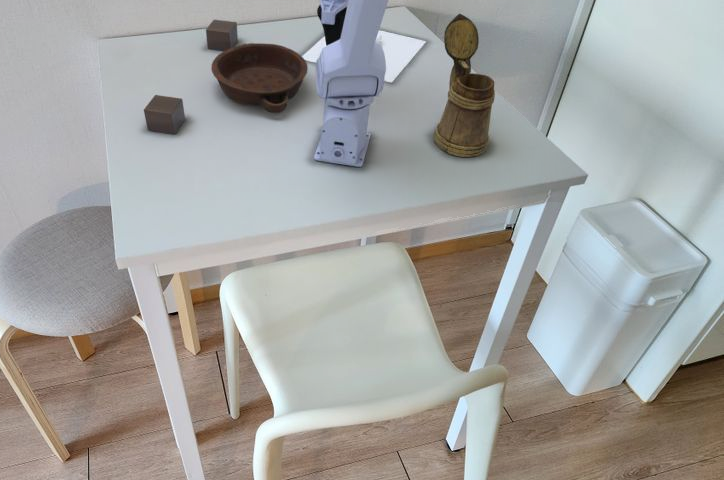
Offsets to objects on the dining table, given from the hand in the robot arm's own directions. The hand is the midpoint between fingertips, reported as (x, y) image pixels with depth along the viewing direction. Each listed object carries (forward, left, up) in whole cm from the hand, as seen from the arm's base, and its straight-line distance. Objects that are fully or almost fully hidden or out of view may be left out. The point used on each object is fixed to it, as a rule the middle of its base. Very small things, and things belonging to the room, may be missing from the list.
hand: (333, 48), depth 102 cm
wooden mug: (-6, -23, -10) cm, 26 cm away
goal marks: (0, +26, -10) cm, 28 cm away
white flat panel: (+21, -3, -10) cm, 23 cm away
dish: (0, +13, -10) cm, 17 cm away
